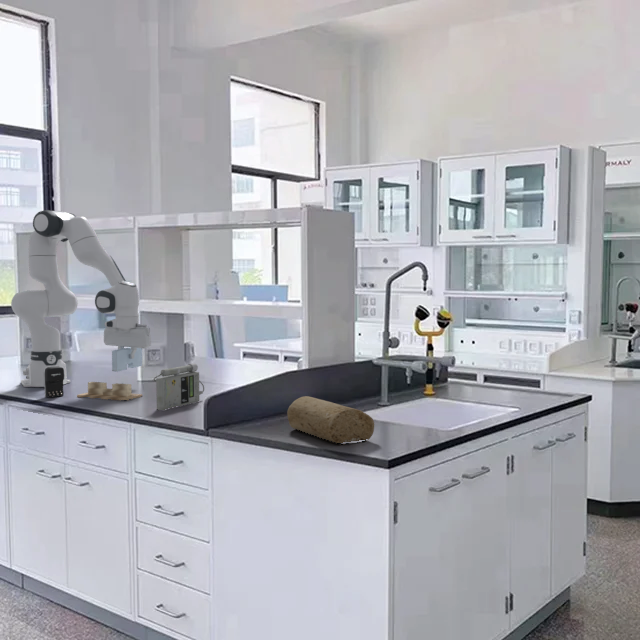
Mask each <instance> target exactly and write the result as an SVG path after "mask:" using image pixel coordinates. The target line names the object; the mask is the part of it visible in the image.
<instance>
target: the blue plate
mask: <svg viewBox="0 0 640 640" xmlns="http://www.w3.org/2000/svg"><path fill="white" fill-rule="evenodd" d="M131 351H132V350H131V347H124V348H123V349H118V348H117V349H113V350H111V371H112V372H117V373H118V372H122V371H126V370H128V369H129V368H130V369H135V368H139V367H143V348H137V350H136V352H135V354H134V358H133V359H130V358H129V354H131Z"/></svg>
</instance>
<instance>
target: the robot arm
mask: <svg viewBox="0 0 640 640" xmlns="http://www.w3.org/2000/svg"><path fill="white" fill-rule="evenodd" d="M32 226H33V231H32V232H31V233H30V236H29V240H28V241H29V242H28V272H29V273H28V274H29V276H30V277H31V278H32V279H33V280H35V281H36V282H38V283H41V284H43V286H44V289H43V290H42V289H41V290H39V289H38V290H24V291H19V292H16V293H15V294H14V295H13V297H12V299H11V302H10V303H11V306H10V307H11V309H12V312H13V313H14V314H15V315H16V316H17V317H19V318H20V319H21V320H22V321H23V322H24V323H25V324H26V326H27V328H28V330H29V332H30V338H31V339H30V341H31V352H30V361H29V364H28V365H27V366H26V368H25V369H23V370H22V374H23V376H25V379H24V378H23V379H21V380H20V383H21V385H22V386H23V387H24V388H28V387H29V388H32V387H33V388H34V387H35V388H45V387H44V369H45V368H46V367H50V366H60V367H62V368H63V369H64V380H63V386H64V385H65V384H69V383H71V379H68V377H67V363H65V362H64V361H63V360H62V359H63V352H62V349H61V332H60V330H59V329H58V328H57V327H55V326H53V325H50V324H49V323H47V322H46V319H45V318H51V317H52V318H53V317H55V318H56V317H65V316H66V317H67V316H69V315H73V314H74V313H75V312H76V310H77V308H78V304H79V303H78V298H77V296H76V294H75V293H74V292H73V291H71V290H70V289H69V288H67V286H65V284H64V282H63V281H62V279H61V276H60V271H59V266H58V265H59V264H58V249H57V248H58V244H59V242H63V243H65V242H67V241H68V242H69V244H70V245H69V246H70V247H71V250H72V252H73V254H74V256H75V258H76V259H77V261H78V262H80V263H81V264H83V265H85V266H88V267H92V268H94V269H96V270H98V271H100V272H101V273H102V274H104V276H105V277H106V279H107V281H108V283H109V285H110V286H111V287H108V288H105V289H102V290H99V291H98V292H97V294H96V295H95V298H94V305H95V308H96V310H97V311H98V312H100V313H102V314H115V318H113V319H110V320H107V321H105V322H104V331H103V343H104V345H105V346H112V347H114V346H115V347H117V350H118V349H123V348H128V347H131V350H132V351H131V354H129V358H130V359H133V358H134V354H135V352H136V350H137V348H142V349H150V347H151V346H152V337H151V329H150V327H149V326H148V325H147V324H145V323H144V324H142V323H140V317H139V316H140V314H139V313H140V312H139V310H138V309H139V306H140V303H139V302H140V299H139V298H140V297H139V289H138V286H137V285H136V283H134V282H131V281H127V280H126V279H125V277H124V275H123V274H122V272H121V270H120V268H119V267H118V265H117V263H116V261H115V260H114V259H113V257H112V256H111V255H110V254H109V252H107V251H106V249H105V247H104V246H103V245H102V243H101V241H100V239H99V237H98V235H97V233H96V230H95V229H94V227H93V225H92V224H91V223H90V221H89V219H88V218H86V217H85V216H77V215H75V214H74V213H70V212H66V211H62V210H61V211H60V210H49V209H47V210H40V211H38V212H37V213H36V214H35V215H34V217H33V220H32Z"/></svg>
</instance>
